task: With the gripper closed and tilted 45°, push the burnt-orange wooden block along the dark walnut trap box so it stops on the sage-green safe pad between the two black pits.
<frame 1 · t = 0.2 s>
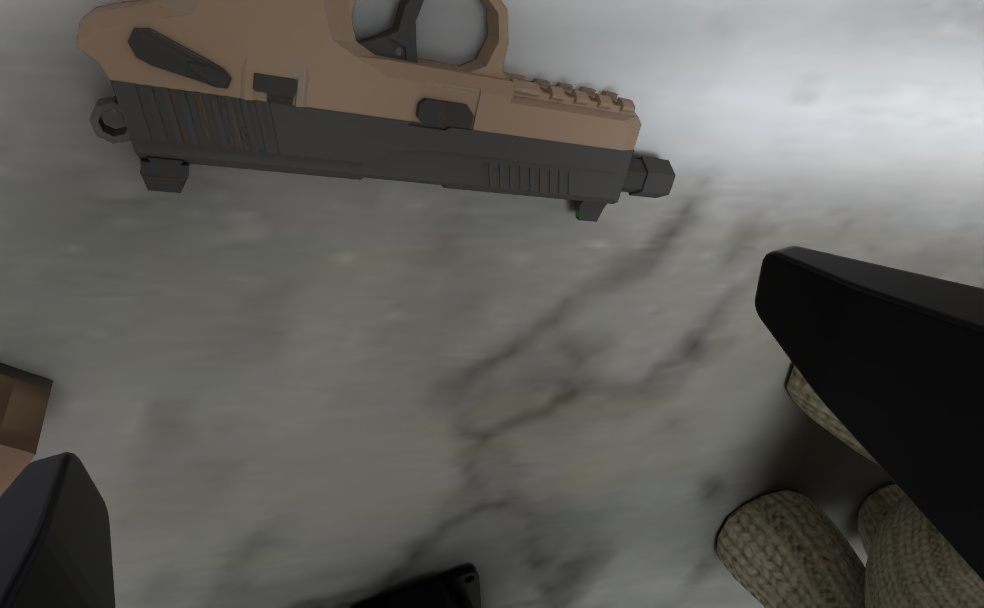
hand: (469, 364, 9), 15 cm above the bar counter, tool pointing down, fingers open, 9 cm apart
toy: (906, 425, 45), on the bar counter
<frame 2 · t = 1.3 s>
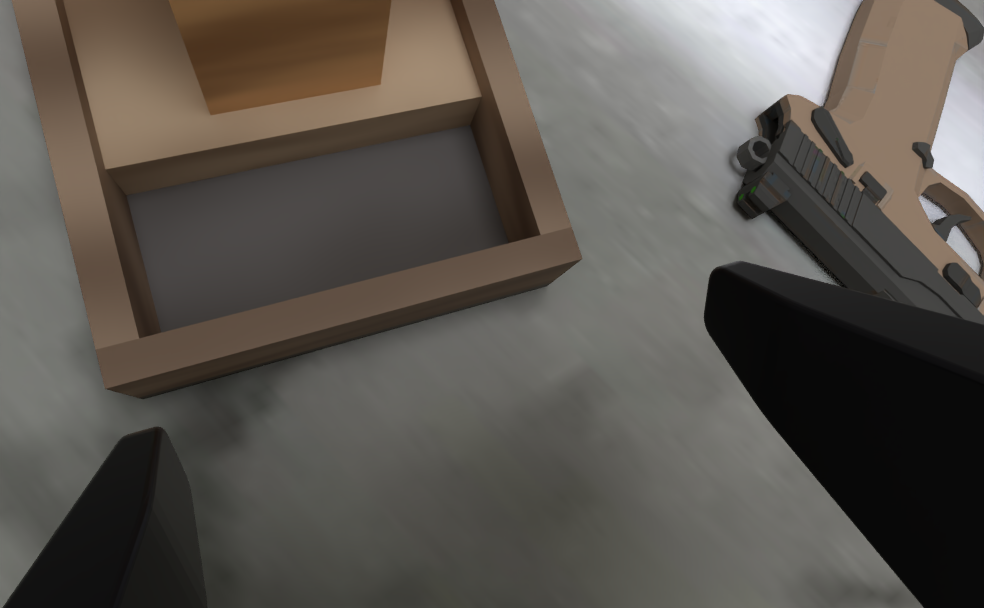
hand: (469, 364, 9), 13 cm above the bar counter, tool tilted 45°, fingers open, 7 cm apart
handgun: (952, 238, 29), on the bar counter
block: (271, 9, 21), point 2 cm above the bar counter, touching trap box
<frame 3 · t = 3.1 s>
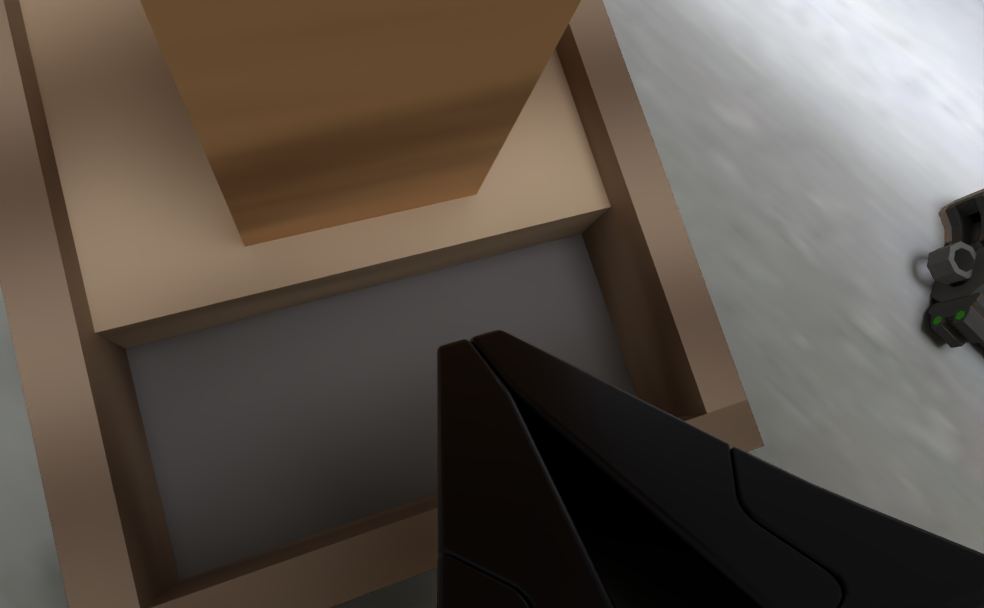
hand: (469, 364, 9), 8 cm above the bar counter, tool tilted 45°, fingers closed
trap box: (288, 1, 18), on the bar counter
block: (328, 91, 15), point 2 cm above the bar counter, touching trap box
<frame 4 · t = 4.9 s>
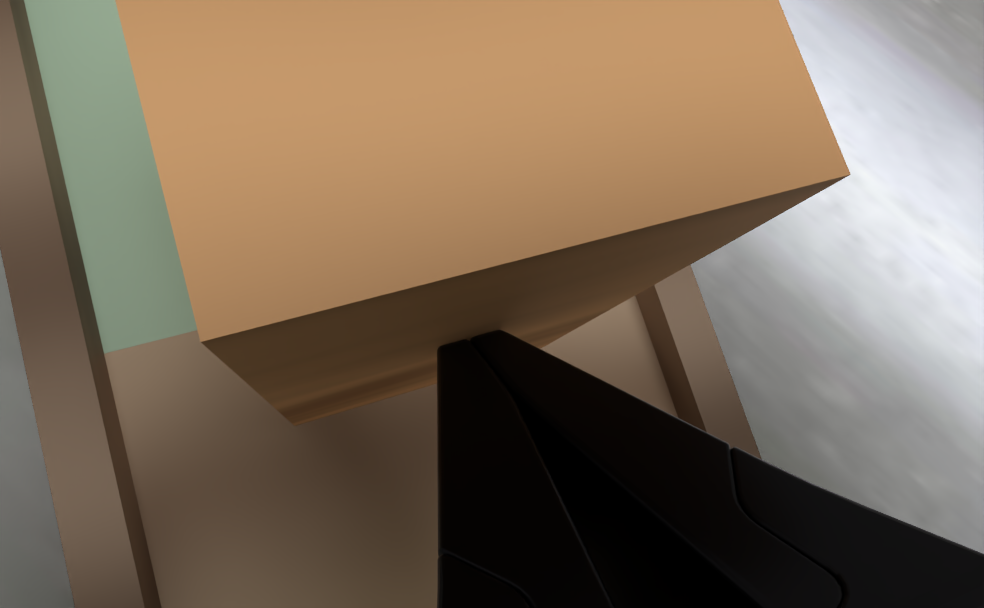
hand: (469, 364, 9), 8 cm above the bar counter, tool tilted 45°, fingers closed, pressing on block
trap box: (376, 308, 17), on the bar counter
safe pad: (333, 161, 18), resting on trap box
block: (375, 255, 15), point 2 cm above the bar counter, touching gripper, safe pad, trap box
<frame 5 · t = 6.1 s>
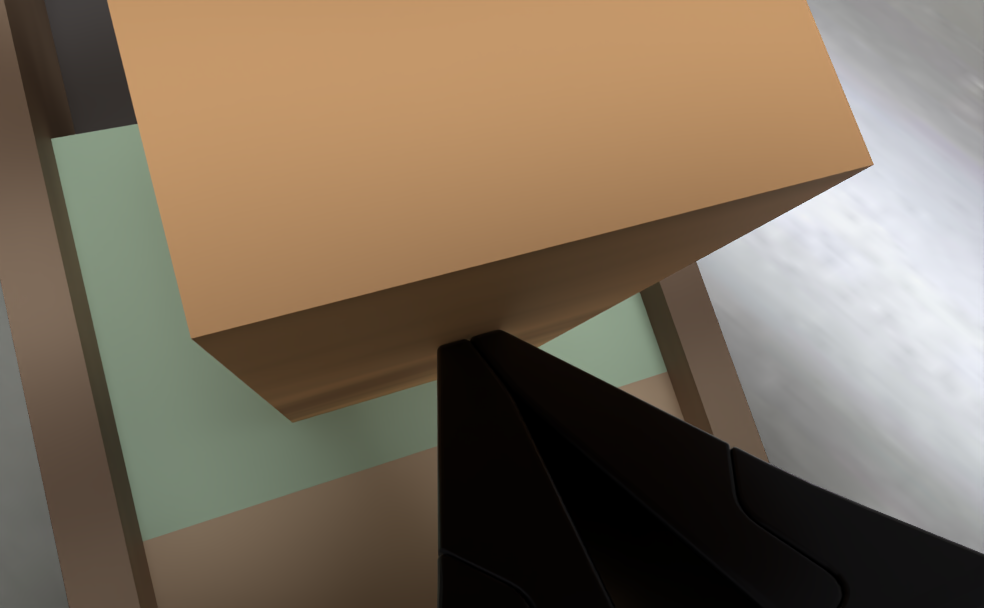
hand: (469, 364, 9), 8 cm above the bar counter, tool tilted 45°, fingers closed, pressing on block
trap box: (418, 449, 16), on the bar counter
safe pad: (372, 289, 17), resting on trap box
block: (375, 249, 15), point 2 cm above the bar counter, touching gripper, safe pad
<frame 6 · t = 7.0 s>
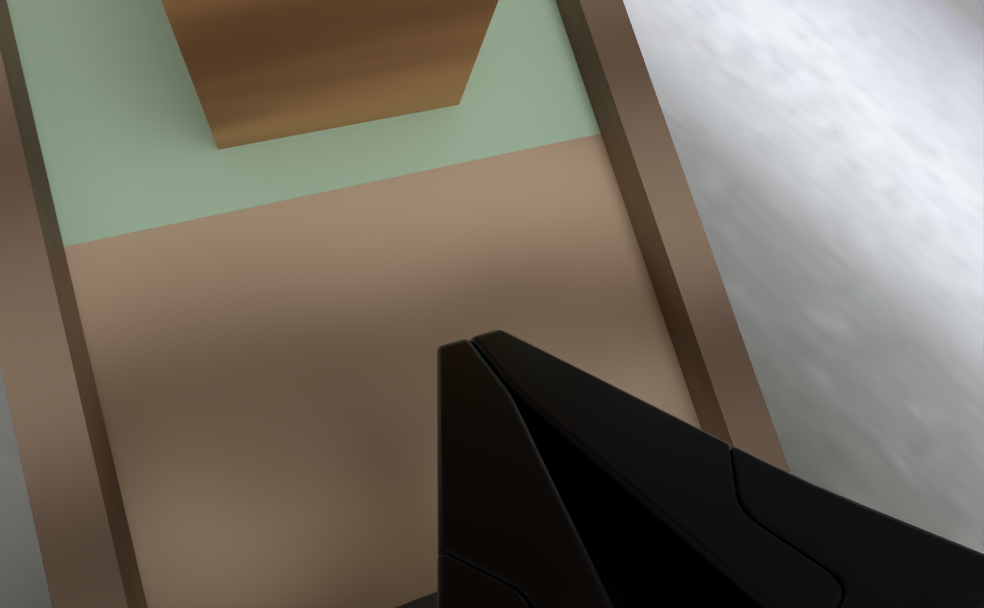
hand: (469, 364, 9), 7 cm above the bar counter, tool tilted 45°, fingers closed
trap box: (356, 222, 16), on the bar counter
safe pad: (312, 69, 17), resting on trap box
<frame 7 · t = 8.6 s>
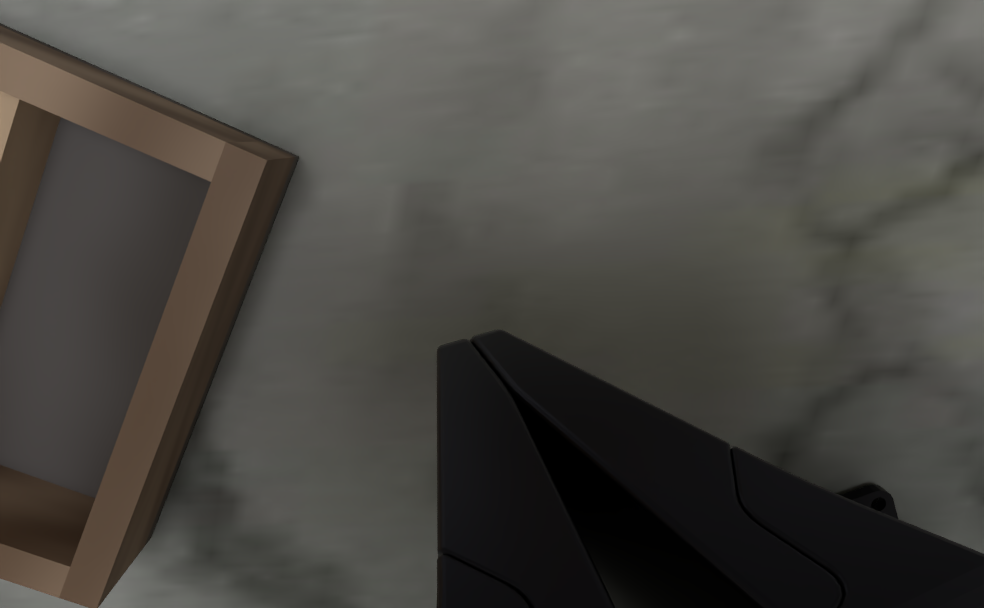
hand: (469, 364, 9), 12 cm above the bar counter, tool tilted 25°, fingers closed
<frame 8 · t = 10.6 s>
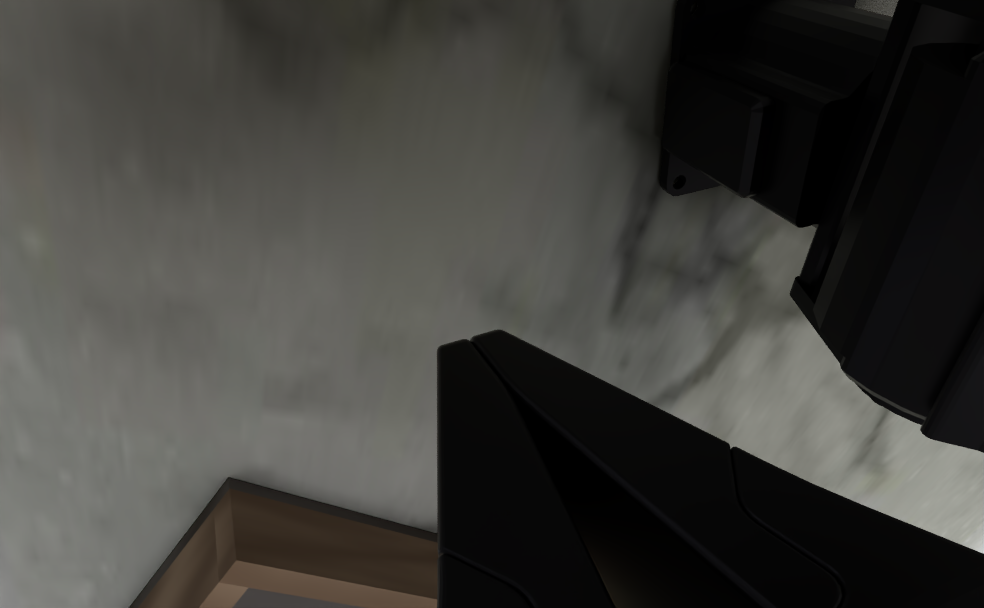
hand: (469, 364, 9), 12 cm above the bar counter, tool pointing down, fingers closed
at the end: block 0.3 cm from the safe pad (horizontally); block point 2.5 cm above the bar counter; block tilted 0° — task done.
